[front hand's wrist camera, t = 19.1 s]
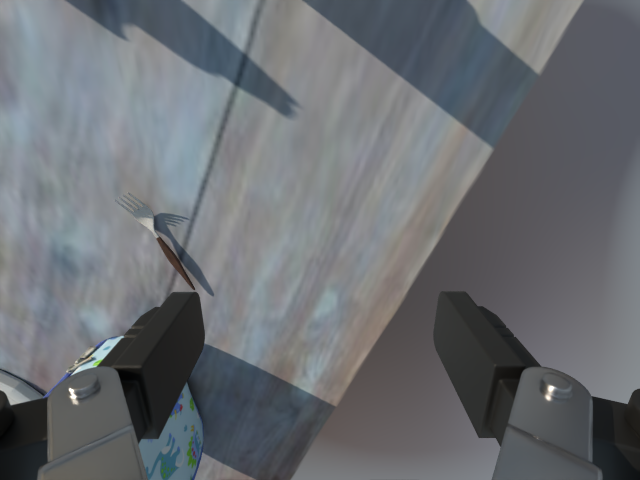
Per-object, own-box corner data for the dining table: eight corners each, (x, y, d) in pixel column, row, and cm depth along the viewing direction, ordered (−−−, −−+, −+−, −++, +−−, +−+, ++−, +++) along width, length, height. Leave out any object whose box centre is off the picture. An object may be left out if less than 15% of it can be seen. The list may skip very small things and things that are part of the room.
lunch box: (100, 322, 52) (-34, 450, 32) (167, 312, 51) (72, 436, 32) (157, 443, 61) (80, 600, 41) (214, 436, 60) (164, 592, 41)
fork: (188, 291, 50) (183, 298, 48) (120, 196, 45) (112, 200, 43) (203, 284, 50) (198, 291, 48) (136, 188, 44) (128, 191, 43)
